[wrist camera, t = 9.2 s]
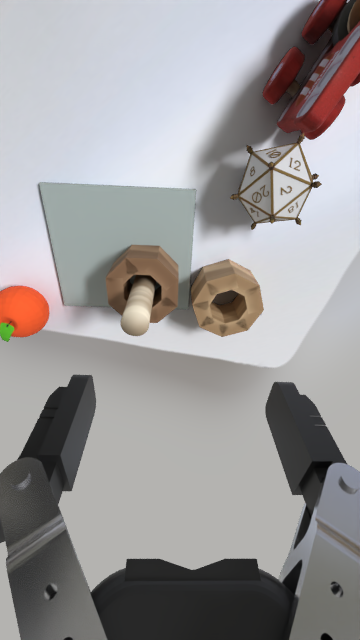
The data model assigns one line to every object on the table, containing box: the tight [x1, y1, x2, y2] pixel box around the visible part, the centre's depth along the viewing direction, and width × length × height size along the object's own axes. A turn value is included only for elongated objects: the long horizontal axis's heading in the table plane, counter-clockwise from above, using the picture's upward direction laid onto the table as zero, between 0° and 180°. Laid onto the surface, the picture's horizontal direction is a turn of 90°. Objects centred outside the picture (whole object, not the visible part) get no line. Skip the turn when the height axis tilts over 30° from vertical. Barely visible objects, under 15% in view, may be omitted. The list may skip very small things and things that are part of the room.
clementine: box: [0, 286, 49, 342], centre depth 37 cm, size 8×7×7 cm
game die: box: [230, 133, 322, 230], centre depth 28 cm, size 9×8×10 cm
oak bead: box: [191, 259, 264, 337], centre depth 37 cm, size 9×9×5 cm
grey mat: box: [39, 182, 196, 309], centre depth 36 cm, size 16×18×1 cm
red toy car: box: [263, 0, 360, 140], centre depth 22 cm, size 7×12×10 cm, turn 147°
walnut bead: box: [106, 245, 179, 323], centre depth 35 cm, size 9×9×5 cm
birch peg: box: [121, 275, 156, 336], centre depth 32 cm, size 3×3×12 cm
